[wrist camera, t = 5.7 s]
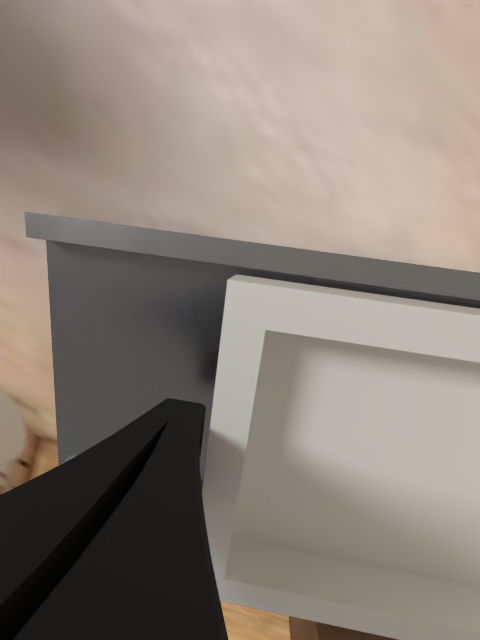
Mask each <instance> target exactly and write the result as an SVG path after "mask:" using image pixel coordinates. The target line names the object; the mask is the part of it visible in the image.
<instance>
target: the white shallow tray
mask: <svg viewBox="0 0 480 640" xmlns="http://www.w3.org/2000/svg"><path fill="white" fill-rule="evenodd" d="M202 498H203V507H204V514H205V522H206V529H207V535H208V541H209V547H210V553H211V559H212V564H213V569H214V574H215V579H216V583H217V588H218V593H219V598H220V601H222V602H227V603H232V604H236V605H241V606H246V607H250V608H255V609H259V610H264V611H269V612H273V613H278V614H283V615H287V616H292V617H297V618H301V619H306V620H310V621H315V622H320V623H324V624H329V625H334V626H338V627H343V628H348V629H352V630H357V631H362V632H366V633H371V634H375V635H380V636H385V637H389V638H394V639H399V640H480V309H478V308H471V307H464V306H457V305H450V304H443V303H436V302H429V301H422V300H415V299H407V298H400V297H393V296H386V295H379V294H372V293H365V292H358V291H351V290H344V289H337V288H330V287H323V286H316V285H308V284H301V283H294V282H287V281H280V280H273V279H266V278H259V277H252V276H245V275H238V274H237V275H235V276H233V277H231V278H229V279H228V280H227V288H226V297H225V305H224V313H223V322H222V330H221V338H220V347H219V355H218V364H217V372H216V380H215V389H214V397H213V405H212V414H211V422H210V430H209V439H208V447H207V455H206V464H205V472H204V481H203V489H202Z"/></svg>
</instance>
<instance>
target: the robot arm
mask: <svg viewBox="0 0 480 640" xmlns="http://www.w3.org/2000/svg"><path fill="white" fill-rule="evenodd" d="M205 412H206V407H205V406H204V404H201V403H196V402H190V401H184V400H178V399H172V398H167V399H165V400H164V401H162V402H161V403H159V404H158V405H156V406H155V407H153V408H152V409H150V410H149V411H147V412H146V413H144V414H143V415H141V416H140V417H138V418H137V419H136V420H134V421H133V422H131V423H129V424H128V425H126V426H125V427H123V428H122V429H120V430H119V431H117V432H116V433H114V434H112V435H111V436H109V437H107V438H106V439H104V440H102V441H101V442H99V443H97V444H96V445H94V446H92V447H91V448H89V449H87V450H86V451H84V452H82V453H81V454H79V455H77V456H75V457H74V458H72V459H70V460H68V461H66V462H65V463H63V464H61V465H59V466H57V467H55V468H53V469H52V470H50V471H48V472H46V473H44V474H42V475H40V476H38V477H36V478H34V479H32V480H30V481H28V482H26V483H24V484H22V485H20V486H18V487H16V488H14V489H12V490H10V491H8V492H6V493H3V494H1V495H0V640H228V636H227V632H226V627H225V622H224V617H223V612H222V608H221V603H220V598H219V593H218V588H217V583H216V579H215V574H214V569H213V564H212V559H211V553H210V547H209V541H208V535H207V529H206V522H205V514H204V507H203V498H202V489H201V476H200V456H201V448H202V439H203V430H204V421H205Z"/></svg>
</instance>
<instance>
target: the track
mask: <svg viewBox="0 0 480 640" xmlns="http://www.w3.org/2000/svg"><path fill="white" fill-rule="evenodd" d="M25 223H26V237H30V238H37V239H45V240H46V245H47V262H48V280H49V298H50V316H51V334H52V352H53V369H54V387H55V405H56V423H57V441H58V459H59V465H61V464H63V463H65V462H66V461H68V460H70V459H72V458H74V457H75V456H77V455H79V454H81V453H82V452H84V451H86V450H87V449H89V448H91V447H92V446H94V445H96V444H97V443H99V442H101V441H102V440H104V439H106V438H107V437H109V436H111V435H112V434H114V433H116V432H117V431H119V430H120V429H122V428H123V427H125V426H126V425H128V424H129V423H131V422H133V421H134V420H136V419H137V418H138V417H140V416H141V415H143V414H144V413H146V412H147V411H149V410H150V409H152V408H153V407H155V406H156V405H158V404H159V403H161V402H162V401H164V400H165V399H167V398H172V399H178V400H184V401H190V402H196V403H201V404H204V406H205V407H206V412H205V421H204V430H203V439H202V448H201V456H200V476H201V489H203V481H204V472H205V464H206V455H207V447H208V439H209V430H210V422H211V414H212V405H213V397H214V389H215V380H216V372H217V364H218V355H219V347H220V338H221V330H222V322H223V313H224V305H225V297H226V288H227V280H228V279H229V278H231V277H233V276H235V275H237V274H238V275H245V276H252V277H259V278H266V279H273V280H280V281H287V282H294V283H301V284H308V285H316V286H323V287H330V288H337V289H344V290H351V291H358V292H365V293H372V294H379V295H386V296H393V297H400V298H407V299H415V300H422V301H429V302H436V303H443V304H450V305H457V306H464V307H471V308H478V309H480V273H476V272H469V271H461V270H454V269H446V268H439V267H431V266H424V265H416V264H409V263H401V262H394V261H387V260H379V259H372V258H364V257H357V256H349V255H342V254H334V253H327V252H319V251H312V250H304V249H297V248H289V247H282V246H274V245H267V244H259V243H252V242H245V241H237V240H230V239H222V238H215V237H207V236H200V235H192V234H185V233H177V232H170V231H162V230H155V229H147V228H140V227H132V226H125V225H118V224H110V223H103V222H95V221H88V220H80V219H73V218H65V217H58V216H50V215H43V214H35V213H28V212H25Z"/></svg>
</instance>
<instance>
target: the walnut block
mask: <svg viewBox="0 0 480 640" xmlns="http://www.w3.org/2000/svg"><path fill="white" fill-rule="evenodd" d="M289 624H290V638H291V640H399V639H394V638H389V637H385V636H380V635H375V634H371V633H366V632H362V631H357V630H352V629H348V628H343V627H338V626H334V625H329V624H324V623H320V622H315V621H310V620H306V619H301V618H297V617H292V616H289Z"/></svg>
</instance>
